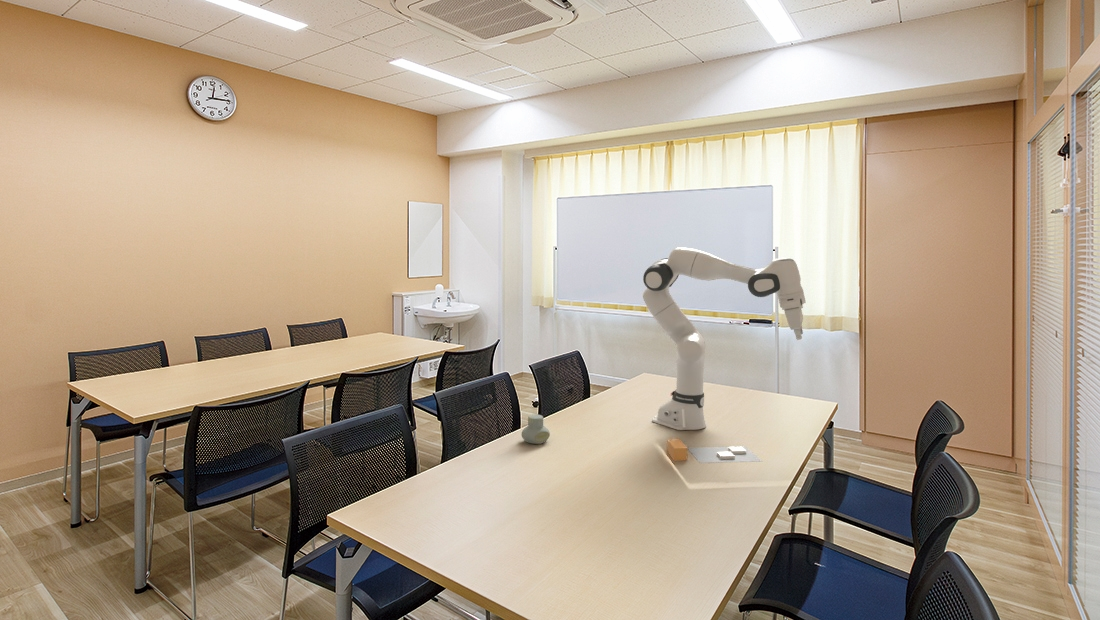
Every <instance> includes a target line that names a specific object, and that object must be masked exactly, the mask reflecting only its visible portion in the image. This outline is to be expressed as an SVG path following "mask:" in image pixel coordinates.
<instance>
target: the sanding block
mask: <svg viewBox="0 0 1100 620" xmlns="http://www.w3.org/2000/svg"><path fill="white" fill-rule="evenodd" d="M687 448H688V447H687V445H686V444H684V442H683V441H682V440H681V439H680V438H668V439H666V452H667V453H668V454H666V456H667V457H668V459H669V460H670V461H671V463H672V464H673V465H674V466H675V463H674V462H673V461H675V462H676V461H688V449H687ZM670 457H671V458H672V459H671V458H670ZM672 460H673V461H672Z"/></svg>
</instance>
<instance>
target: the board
mask: <svg viewBox="0 0 1100 620" xmlns="http://www.w3.org/2000/svg"><path fill="white" fill-rule="evenodd" d="M728 447H729V446H707V447H705V446H704V447H703V446H701V447H699V446H698V447H695V446H694V447H687V451H689V452H690V453H691V455H692V456H693V457H694V458H695V459H696V461H697V462H698V463H699V464H700V463H701V464H704V463H705V464H706V463H708V464H710V463H714V464H715V463H746V462H747V463H751V462H762V460H761V459H760V458H759V457H758V456H757V455H755V453H754V452H752V451H751V450H750V449H749V448H748V447H746V446H744V445H742V446H741V445H740V446H738V447H743V448H744V449H745V450H746V454H733V455H735V459H720V458H719V457H718V456H717V452H730V451H729V450H728Z"/></svg>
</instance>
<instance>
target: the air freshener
mask: <svg viewBox="0 0 1100 620" xmlns="http://www.w3.org/2000/svg"><path fill="white" fill-rule="evenodd" d="M550 436H551V432H550V429H549V428H548V427H546V426H544V416H543V415H541V414H530V415H528V418H527V426H525V427H524V428H523V429H522V431H521V437H522V439H523V440H524V441H525V442H527V443H529V444H534V445H541V444H543V443H545V442H546V441H547V440H549V439H550Z"/></svg>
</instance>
